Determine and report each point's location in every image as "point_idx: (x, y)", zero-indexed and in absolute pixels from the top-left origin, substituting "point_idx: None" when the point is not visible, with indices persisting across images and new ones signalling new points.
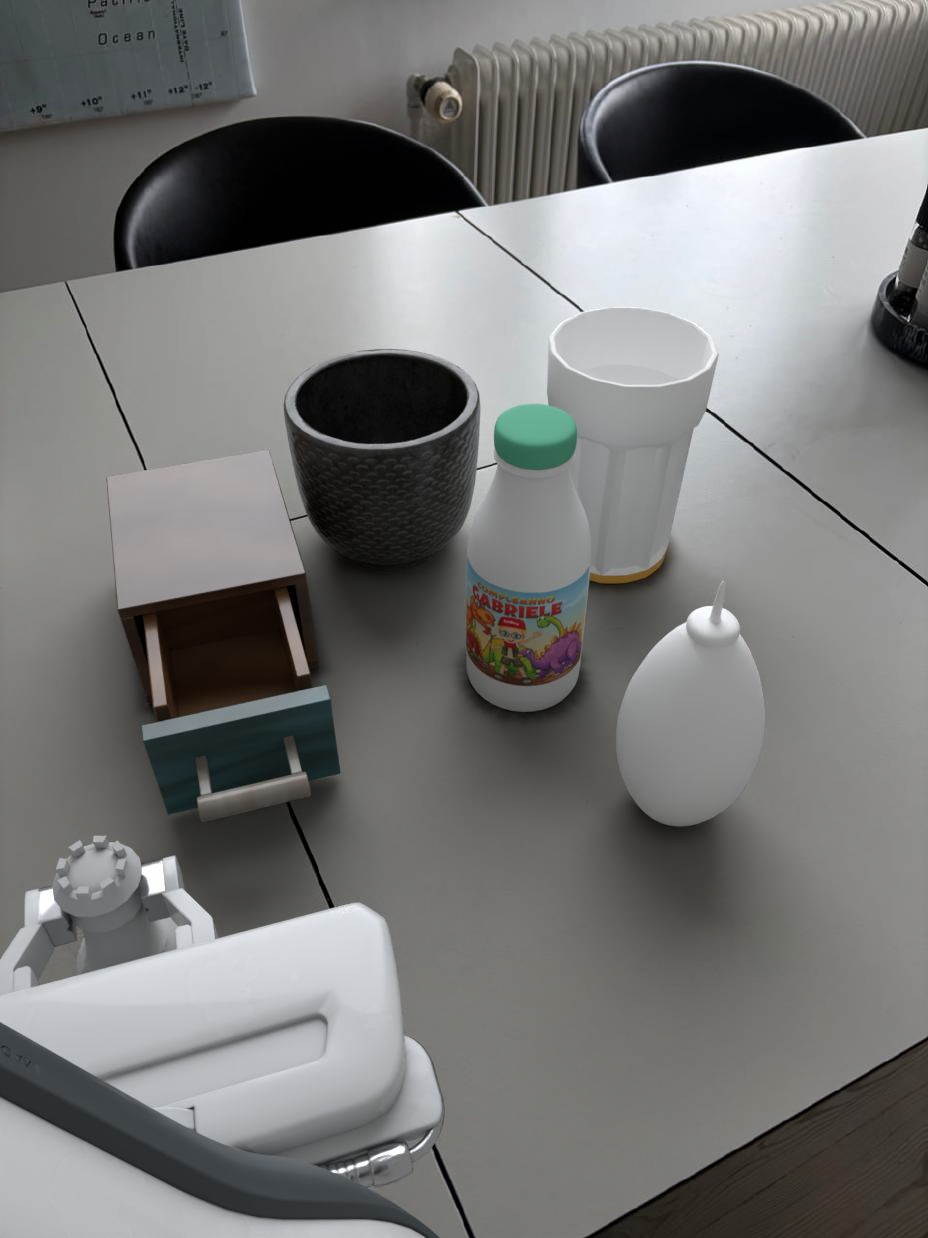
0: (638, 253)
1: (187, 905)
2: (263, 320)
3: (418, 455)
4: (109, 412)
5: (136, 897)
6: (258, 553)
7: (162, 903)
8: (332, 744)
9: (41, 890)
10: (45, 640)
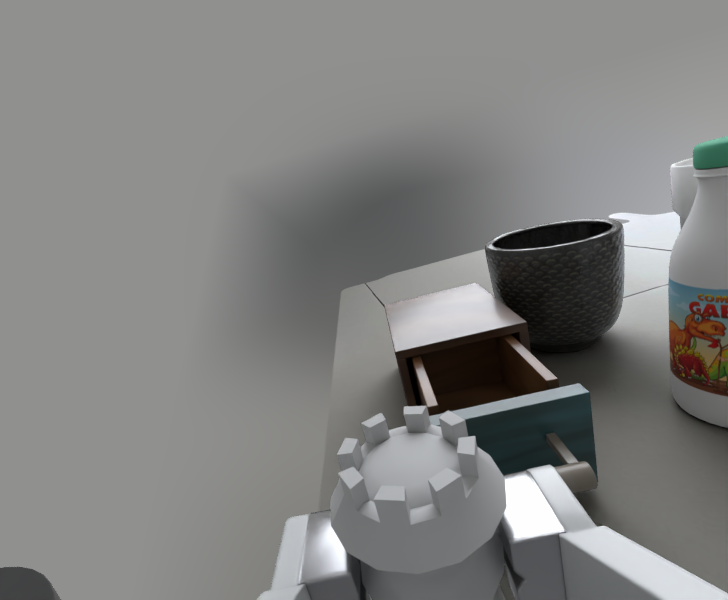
0: (644, 225)
1: (651, 569)
2: (451, 276)
3: (592, 247)
4: (382, 312)
5: (491, 547)
6: (486, 318)
7: (554, 566)
8: (591, 446)
9: (313, 515)
10: (349, 402)
